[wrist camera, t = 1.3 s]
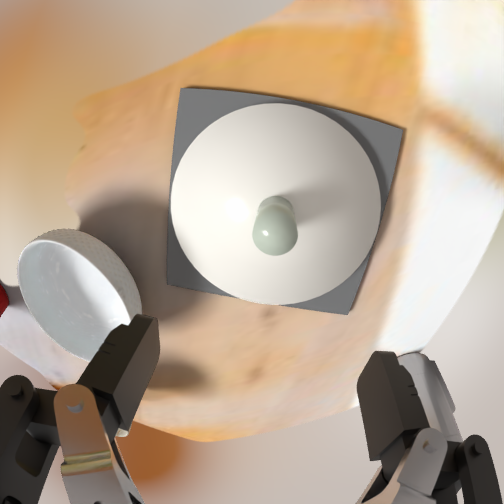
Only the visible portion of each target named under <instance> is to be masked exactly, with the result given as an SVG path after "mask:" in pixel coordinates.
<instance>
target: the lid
mask: <svg viewBox="0 0 504 504" xmlns="http://www.w3.org/2000/svg"><path fill="white" fill-rule="evenodd" d="M380 212H381V198H380V190H379V184H378V180H377V177H376V174H375V171H374V168H373V166H372V164H371V162H370V160H369V158H368V156H367V154H366V153H365V151H364V150H363V148H362V147H361V145H360V144H359V143H358V142H357V140H356V139H355V138H354V137H353V136H352V135H351V134H350V133H349V132H348V131H347V130H346V129H344V128H343V127H342V126H341V125H339V124H338V123H337V122H335V121H333V120H332V119H330V118H329V117H327V116H325V115H323V114H321V113H318V112H316V111H314V110H311V109H308V108H305V107H301V106H297V105H291V104H282V103H269V104H259V105H253V106H248V107H245V108H242V109H239V110H236V111H233V112H231V113H229V114H227V115H225V116H223V117H221V118H219V119H218V120H217V121H215V122H214V123H212V124H211V125H209V126H208V127H207V128H206V129H205V130H204V131H202V132H201V133H200V134H199V135H198V136H197V137H196V139H195V140H194V141H193V142H192V143H191V145H190V146H189V147H188V149H187V150H186V152H185V154H184V155H183V157H182V159H181V161H180V163H179V166H178V168H177V170H176V173H175V177H174V180H173V184H172V192H171V215H172V222H173V226H174V230H175V233H176V236H177V239H178V241H179V243H180V246H181V248H182V250H183V251H184V253H185V255H186V256H187V258H188V259H189V261H190V262H191V263H192V265H193V266H194V267H195V268H196V269H197V270H198V271H199V273H200V274H201V275H202V276H203V277H205V278H206V279H207V280H208V281H209V282H211V283H212V284H213V285H215V286H216V287H218V288H219V289H221V290H223V291H224V292H226V293H229V294H231V295H233V296H235V297H238V298H240V299H243V300H246V301H250V302H255V303H260V304H269V305H285V304H294V303H299V302H303V301H307V300H310V299H313V298H316V297H319V296H321V295H323V294H325V293H327V292H329V291H331V290H332V289H334V288H335V287H337V286H339V285H340V284H341V283H343V282H344V281H345V280H346V279H347V278H349V277H350V276H351V275H352V274H353V273H354V271H355V270H356V269H357V268H358V267H359V266H360V264H361V263H362V262H363V260H364V259H365V258H366V256H367V254H368V252H369V250H370V249H371V247H372V244H373V242H374V239H375V237H376V234H377V230H378V226H379V222H380Z"/></svg>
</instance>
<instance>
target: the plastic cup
mask: <svg viewBox="0 0 504 504" xmlns="http://www.w3.org/2000/svg"><path fill="white" fill-rule="evenodd" d="M8 305H9V300H8V296H7V294H6V292H5V290H4V288H3V287H2V285H1V284H0V317H1V315H2V314H3V312H4V311H5V309H6V308H7V306H8Z"/></svg>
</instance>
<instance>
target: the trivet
mask: <svg viewBox="0 0 504 504" xmlns="http://www.w3.org/2000/svg"><path fill="white" fill-rule="evenodd" d="M269 103H282V104H291V105H297V106H301V107H305V108H308V109H311V110H314V111H316V112H318V113H321V114H323V115H325V116H327V117H329V118H330V119H332V120H333V121H335V122H337V123H338V124H339V125H341V126H342V127H343V128H344V129H346V130H347V131H348V132H349V133H350V134H351V135H352V136H353V137H354V138H355V139H356V140H357V142H358V143H359V144H360V145H361V147H362V148H363V150H364V151H365V153H366V154H367V156H368V158H369V160H370V162H371V164H372V166H373V168H374V171H375V174H376V177H377V180H378V184H379V190H380V198H381V212H380V222H379V226H380V223H381V219H382V216H383V212H384V209H385V205H386V202H387V198H388V194H389V190H390V187H391V183H392V179H393V175H394V170H395V166H396V162H397V157H398V153H399V148H400V143H401V138H402V133H403V130H402V129H399V128H396V127H393V126H390V125H387V124H384V123H381V122H378V121H375V120H372V119H369V118H365V117H362V116H358V115H355V114H351V113H348V112H344V111H340V110H336V109H332V108H328V107H324V106H319V105H315V104H310V103H305V102H300V101H295V100H290V99H284V98H278V97H272V96H265V95H258V94H251V93H243V92H233V91H223V90H210V89H192V88H181V90H180V97H179V104H178V111H177V119H176V127H175V136H174V145H173V155H172V167H171V179H170V194H169V212H168V238H167V284H168V285H173V286H177V287H182V288H187V289H192V290H197V291H202V292H207V293H213V294H218V295H223V296H229V297H234V298H238V297H235V296H233V295H231V294H229V293H226V292H224V291H223V290H221V289H219V288H218V287H216V286H215V285H213V284H212V283H211V282H209V281H208V280H207V279H206V278H205V277H203V276H202V275H201V274H200V273H199V271H198V270H197V269H196V268H195V267H194V266H193V265H192V263H191V262H190V261H189V259H188V258H187V256H186V255H185V253H184V251H183V250H182V248H181V246H180V243H179V241H178V239H177V236H176V233H175V230H174V226H173V222H172V215H171V192H172V184H173V180H174V177H175V173H176V170H177V168H178V166H179V163H180V161H181V159H182V157H183V155H184V154H185V152H186V150H187V149H188V147H189V146H190V145H191V143H192V142H193V141H194V140H195V139H196V137H197V136H198V135H199V134H200V133H201V132H202V131H204V130H205V129H206V128H207V127H208V126H209V125H211V124H212V123H214V122H215V121H217V120H218V119H219V118H221V117H223V116H225V115H227V114H229V113H231V112H233V111H236V110H239V109H242V108H245V107H248V106H253V105H259V104H269ZM379 226H378V229H379ZM377 232H378V230H377ZM376 236H377V234H376ZM375 239H376V237H375ZM375 239H374V242H375ZM374 242H373V244H372V247H371V249H370V250H369V252H368V254H367V256H366V258H365V259H364V260H363V262H362V263H361V264H360V266H359V267H358V268H357V269H356V270H355V271H354V273H353V274H352V275H351V276H350V277H349V278H347V279H346V280H345V281H344V282H343V283H341V284H340V285H339V286H337V287H335V288H334V289H332V290H331V291H329V292H327V293H325V294H323V295H321V296H319V297H316V298H313V299H310V300H307V301H303V302H299V303H294V304H285V305H281V306H287V307H294V308H300V309H307V310H314V311H321V312H328V313H336V314H343V315H348V313H349V311H350V308H351V306H352V303H353V301H354V298H355V296H356V293H357V290H358V288H359V285H360V282H361V280H362V277H363V274H364V271H365V269H366V266H367V263H368V260H369V257H370V254H371V251H372V248H373V245H374Z"/></svg>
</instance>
